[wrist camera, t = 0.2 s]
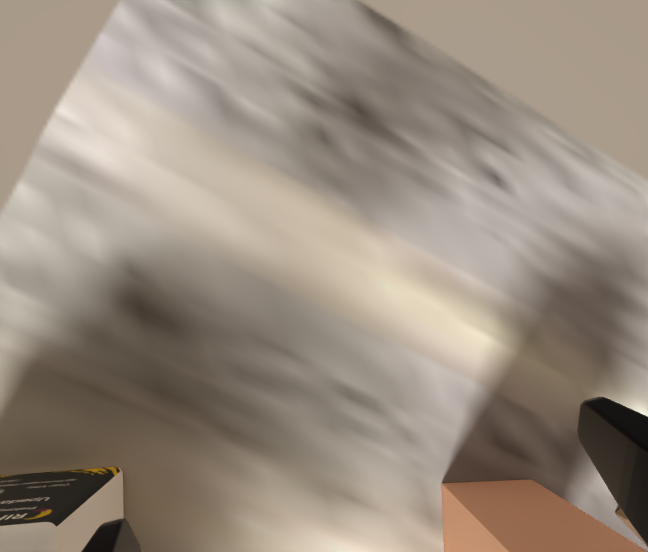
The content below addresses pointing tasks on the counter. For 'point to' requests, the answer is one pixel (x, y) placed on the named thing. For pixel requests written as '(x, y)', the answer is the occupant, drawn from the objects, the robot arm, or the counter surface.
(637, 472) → the robot arm
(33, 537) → the medicine bottle
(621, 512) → the walnut board
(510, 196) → the counter surface
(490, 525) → the terracotta block
